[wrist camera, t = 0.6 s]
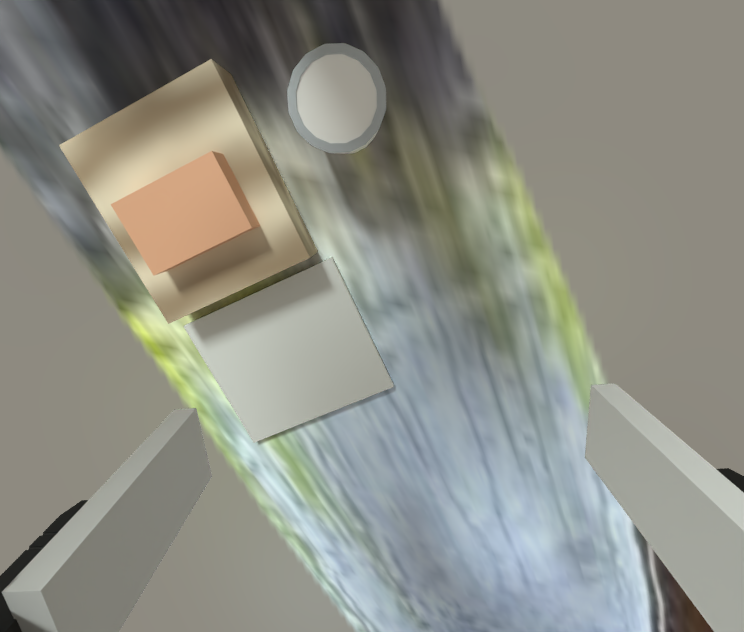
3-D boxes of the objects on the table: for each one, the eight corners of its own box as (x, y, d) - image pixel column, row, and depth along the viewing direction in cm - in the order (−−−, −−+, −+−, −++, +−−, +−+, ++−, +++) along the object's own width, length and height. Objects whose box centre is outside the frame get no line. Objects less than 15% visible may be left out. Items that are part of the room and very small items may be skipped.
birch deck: (94, 150, 36) (59, 145, 32) (231, 74, 34) (211, 58, 30) (189, 311, 40) (168, 323, 36) (317, 251, 38) (310, 257, 34)
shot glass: (296, 84, 34) (274, 56, 27) (377, 62, 33) (375, 29, 27) (317, 169, 36) (301, 163, 29) (394, 151, 35) (396, 140, 28)
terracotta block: (128, 203, 33) (110, 204, 31) (223, 153, 32) (211, 150, 30) (167, 270, 35) (153, 275, 33) (260, 225, 33) (251, 227, 31)
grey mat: (186, 324, 40) (183, 326, 40) (332, 256, 38) (331, 257, 37) (255, 439, 44) (253, 442, 43) (393, 384, 41) (393, 386, 41)
